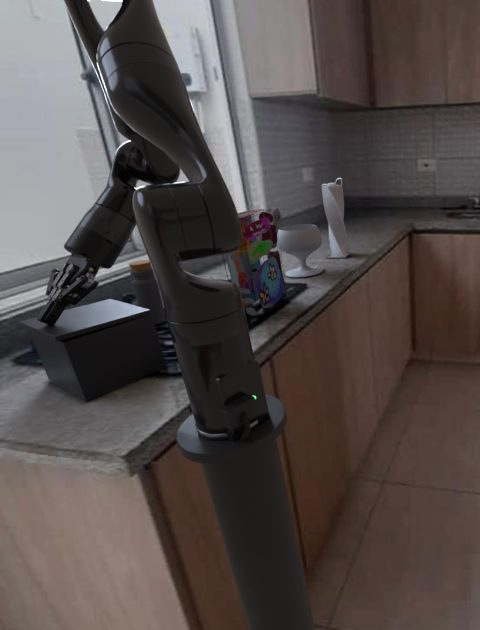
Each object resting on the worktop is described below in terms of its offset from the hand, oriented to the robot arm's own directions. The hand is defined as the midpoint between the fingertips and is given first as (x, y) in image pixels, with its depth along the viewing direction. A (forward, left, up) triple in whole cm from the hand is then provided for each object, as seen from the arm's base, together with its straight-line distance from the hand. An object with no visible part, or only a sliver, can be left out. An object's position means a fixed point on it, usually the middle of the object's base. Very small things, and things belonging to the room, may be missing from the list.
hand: (44, 323), depth 74 cm
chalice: (+17, -73, -13) cm, 76 cm away
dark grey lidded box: (0, -6, -13) cm, 14 cm away
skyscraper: (+21, -95, -13) cm, 99 cm away
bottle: (+20, -26, -13) cm, 36 cm away
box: (+1, -47, -13) cm, 49 cm away
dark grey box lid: (0, -6, -2) cm, 6 cm away
